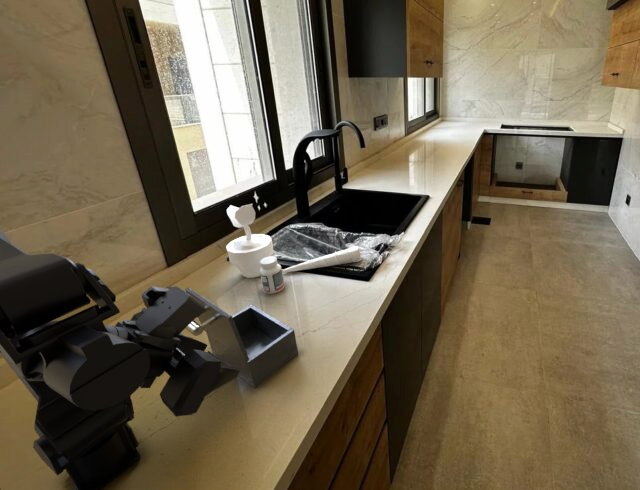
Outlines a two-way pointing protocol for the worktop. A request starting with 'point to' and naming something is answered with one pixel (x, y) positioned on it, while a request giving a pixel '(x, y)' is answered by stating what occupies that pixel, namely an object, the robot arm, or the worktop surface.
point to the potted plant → (247, 242)
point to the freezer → (258, 345)
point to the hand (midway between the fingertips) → (221, 360)
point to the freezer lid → (217, 326)
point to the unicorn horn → (329, 260)
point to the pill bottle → (271, 275)
